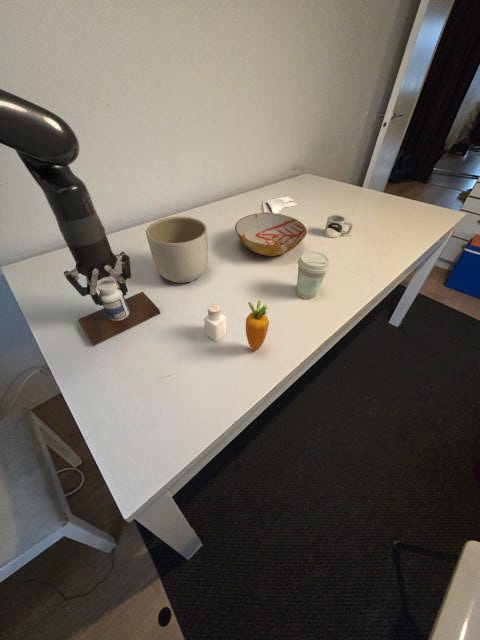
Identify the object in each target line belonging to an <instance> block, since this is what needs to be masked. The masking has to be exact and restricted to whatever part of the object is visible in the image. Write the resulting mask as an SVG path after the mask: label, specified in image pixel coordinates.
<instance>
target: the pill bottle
mask: <svg viewBox="0 0 480 640" xmlns="http://www.w3.org/2000/svg"><path fill="white" fill-rule="evenodd" d="M97 289H98V291H99V293H98V295H99V297H100V299H101V302H102V304H103V305H102V307H103V308H104V310H105V312H106V314H107V316H108V318H109V319H110V320H112V321H120V320H123V319H125V318H126V317H127V316H128V315H129V308H128V306H127V303H126V301H125V299H126V298H125V296H124V295H123V293H122V291H121V289H120V288H119V286H118V284H117V282H115V281H114V280H112V279H108V280H103V281H100V283H98V284H97Z"/></svg>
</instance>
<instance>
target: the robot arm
mask: <svg viewBox="0 0 480 640" xmlns="http://www.w3.org/2000/svg"><path fill="white" fill-rule="evenodd" d="M0 144H1V145H3V146H6V147H8V148H10V149H12V150H14V151H15V152H16V154H17V155H18V157H19V159H20V160H21V162H22V163H23V165H24V167H25V168H26V169H27V171H28V172H29V174H30V175H31V177H32V178H33V180H34V181H35V182H36V184H37V185H38V186H39V188H40V189H41V191H42V192H43V194H44V196H45V199H46V201H47V203H48V205H49V208H50V209H51V211H52V214H53V215H54V217H55V220H56V222H57V226H58V228H59V232H60V233H61V236H62V238H63V240H64V241H65V243H66V245H67V248H68V249H69V252H70V255H72V258H73V259H74V261H75V268H73V269H72V270H70V271H69V270H65V271H64V272H63V275H64V277H65V279H66V280H67V281H68V283H69V284H71V286H72V287H73V288H74V289H75V290H76V291H77V293H78V294H79V295H80V296H81V297H86V296H88V295H89V296H90V297H91V300H92V302H93V303H94V304H95V305H96V306H99V307H103V304H102V302H101V299H100V297H99V293H98V292H97V287H98V281H101V280H103V279H104V278H109V277H111V276H112V277H113V278H114V279H115V280H116V285H117V287H118V288H120V289H121V291H122V293H123V295H124V297H125V296H127V295H128V293H129V290H128V287H127V283H126V281H127V279H128V280H129V279H131V278H132V269H131V258H130V256H129V255H128V254H127V253H126V252H125V251H121V252H120V253H119V254H114V253H113V250H112V247H111V245H110V242H109V240H108V237H107V234H106V229H105V226H103V223H102V221H101V218H100V216H99V215H98V213H97V210H96V208H95V205H94V203H93V200H92V197H91V195H90V194H91V193H90V192H89V190H88V187H87V185H86V184H85V182H84V181H83V179H81V178H79V177H78V175H76V174H75V173H74V172H73V171H72V169H71V167H70V165H71V164H73V163H75V161H76V160H77V159H78V157H79V155H80V142H79V138H78V137H77V135H76V133H75V131H74V130H73V127H71V126H70V125H69V123H67V121H65V120H64V119H63V118H62V117H60V116H59V115H57V114H55V113H54V112H53V111H51V110H48V109H47V108H44V107H42V106H41V105H38V104H36V103H34V102H31V101H29V100H27V99H25V98H22V97H21V96H18V95H16V94H14V93H11V92H9V91H6V90H4V89H1V88H0ZM117 262H119V264H120V266H121V273H118V271H117V270H115V268H116V265H117ZM79 275H82V276H84V277H85V281H86V286H85V287H84V286H82V284H81V283H80V282H79V279H80V277H79Z"/></svg>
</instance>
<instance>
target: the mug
mask: <svg viewBox="0 0 480 640" xmlns="http://www.w3.org/2000/svg"><path fill="white" fill-rule="evenodd" d="M345 225H346V226H347V225H348V226H349V228H348V229H347V231H346V230H343V229H344V227H345ZM353 226H354V223H353V222H351V221H348V220H346V218H345V217H344V216H343V215H340V214H331V215H328V216H327V220H326V223H325V227H324V230H323V235H324V236H325V237H326V238H330V239H339V238H340V237H341V236H342V235H349V234H350V233H352V229H353Z"/></svg>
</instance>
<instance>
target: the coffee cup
mask: <svg viewBox="0 0 480 640" xmlns="http://www.w3.org/2000/svg"><path fill="white" fill-rule="evenodd" d="M297 265H298V267H297V282H296V295H297V296H298V297H300V298H302V299H304V300H311V299H312V300H313V299H314V298H315V297H316V296H317V294H318V291H319V289H320V287H321V285H322V283H323V281H324V278H325V276H326V273H327V272H328V271H329V269H330V258H329V257H328V256H327V255H326V254H324V253H322V252H319V251H306V252H304V253H301V255H300V257H299V258H298V261H297Z"/></svg>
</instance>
